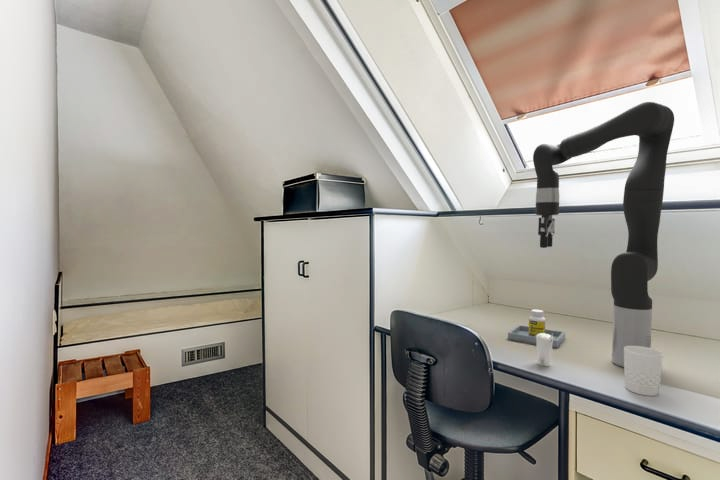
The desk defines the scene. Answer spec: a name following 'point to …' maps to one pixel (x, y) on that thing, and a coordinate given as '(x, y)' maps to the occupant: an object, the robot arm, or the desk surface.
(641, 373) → the white cup
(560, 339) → the tray
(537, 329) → the supplement bottle
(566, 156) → the robot arm
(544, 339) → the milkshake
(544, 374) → the desk surface
